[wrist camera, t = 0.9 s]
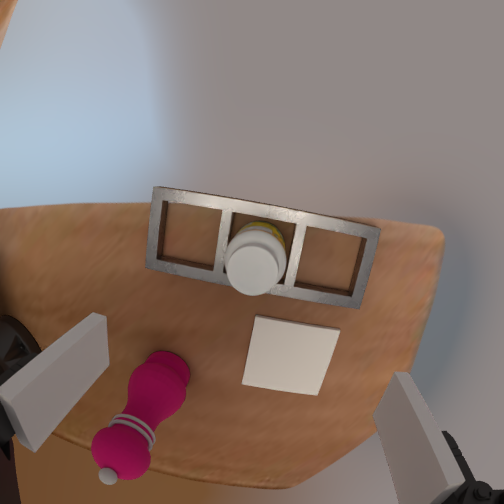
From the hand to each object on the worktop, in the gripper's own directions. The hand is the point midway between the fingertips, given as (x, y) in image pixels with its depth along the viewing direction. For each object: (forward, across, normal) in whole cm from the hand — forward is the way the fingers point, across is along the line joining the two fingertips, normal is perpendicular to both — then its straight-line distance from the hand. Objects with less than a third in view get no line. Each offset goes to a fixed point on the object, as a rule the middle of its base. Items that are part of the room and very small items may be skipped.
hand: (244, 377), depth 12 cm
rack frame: (+21, -1, +1) cm, 21 cm away
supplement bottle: (+21, -1, +1) cm, 21 cm away
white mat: (+21, +5, -12) cm, 25 cm away
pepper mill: (+21, -10, -18) cm, 29 cm away
